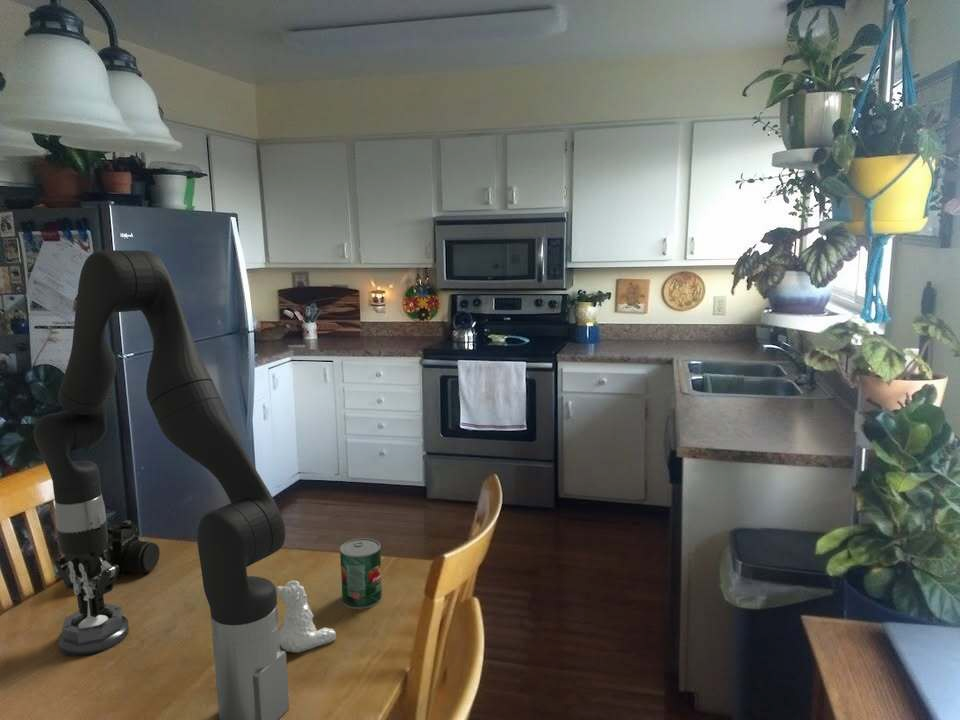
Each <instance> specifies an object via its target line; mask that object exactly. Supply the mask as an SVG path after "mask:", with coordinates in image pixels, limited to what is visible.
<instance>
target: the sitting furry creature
mask: <svg viewBox="0 0 960 720" xmlns="http://www.w3.org/2000/svg"><path fill="white" fill-rule="evenodd" d="M276 594H277V596H280V600H281V601H283V604H284V605H285V606H287V608H286V610H285V611H284V614H283V616H282V617H283V623H282V624H281V627H280V629H279V642H280V649H283V651H285V652H289V653H293V654H298V653H299V654H300V653H301V652H303V653H304V652H305V651H307V650H311V649H314V648H317V647H320V646H323V645H327V644H330V643H333V642H334V640H336V638H337V634H336V631H335V630H334V628H329V627H322V628H320V629H318V630H317V628H316V625H315V623H314V622H313V619H314V614H313V613H312V610H311V609H310V606H309V604H308V595H307V594H306V591H305V588H304V585H300V582H299V581H297V580H293V579H292V580H290V581H287V583H285V585H284V586H282V585H279V586H276Z"/></svg>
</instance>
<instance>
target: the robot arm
mask: <svg viewBox="0 0 960 720" xmlns="http://www.w3.org/2000/svg"><path fill="white" fill-rule="evenodd" d="M171 277H172V276H171V275H170V272H169V271H168V269H167V267H166V265H165V263H164V262H163V260H162V259H161V257H159V256H158V255H157V254H156V253H154V252H152V251H148V250H140V249H139V250H137V249H135V250H126V249H125V250H123V249H122V250H113V249H111V250H110V249H109V250H100V251H99V250H98V251H94V252H93V253H91V254H90V255H88V256H87V258H86V260H84V263H83V266H82V268H81V271H80V275H79V281H78V284H77V285H78V286H77V287H78V288H77V296H76V303H75V313H74V320H73V321H74V322H73V336H72V343H71V344H72V346H71V349H70V350H71V351H70V354H69V359H68V363H67V365H66V369H65V370H64V371H65V372H64V375H63V377H62V380H61V385H60V387H59V390H58V397H57V399H58V403H59V405H60V406H61V407H62V408H63V409H64V410H63V411H62V410H61V411H58V412H53V413H50V414H45V415H43V416H41V417H40V418H39V419H38V420H37V422H36V423H35V426H34V428H33V429H34V430H33V438H34V442H35V445H36V447H37V449H38V451H39V453H40V455H41V457H42V459H43V461H44V462H45V466H46V467H47V470H48V473H49V475H50V478H51V481H52V489H53V490H52V491H53V497H54V519H55V525H56V526H55V527H56V536H57V542H58V544H57V545H58V551H59V552H60V553H61V554H62V555H63V556H61V557H59V558H56V559H54V561H53V562H54V565H55V566H56V568H57V571H58V573H59V575H60V577H61V579H62V581H63V583H64V585H65V588H66V589H67V590H68V591H70V590H72V591H73V594H74V595H76V599H77V606H78V611H79V612H80V613H81V614H86V613H88V601H85V600H84V597H85V596H86V595H87V594H86V592H85V590H84V589H83V585H84V586H87V590H88V595H89V597H90V598H88V599H89V607H90V615H91V616H92V617H96V616H98V615H100V614H102V613H103V612H104V609H105V607H104V604H105V601H104V600H105V599H104V595H106V594H107V593H110V592H111V591H113V588H114V586H115V583H116V579H117V577H118V576H117V575H118V572H119V566H118V565H117V564H115V565H114V566H111V565H110V564H109V563H108V562H107V556H106V554H105V552H104V548H105V546H106V544H107V543H108V532H107V527H108V524H107V515H106V507H105V502H104V498H103V494H102V486H101V485H102V484H101V477H100V476H101V475H100V469H99V467H98V465H97V464H96V463H95V462H93V461H90V460H74V461H72V459H71V457H70V453H72V452H75V451H79V450H83V449H86V448H87V449H88V448H91V447H93V446H95V445H97V444H99V443H100V442H101V441H102V440H103V438H104V437H105V436H106V434H107V429H108V427H107V425H108V424H107V423H108V422H107V400H108V397H109V395H110V393H111V392H110V391H111V389H112V386H113V384H114V381H115V377H116V374H117V373H116V372H117V362H116V357H115V354H114V352H113V349H112V347H111V345H110V343H109V342H108V339H107V337H106V327H107V325H108V322H109V320H110V318H111V316H112V315H113V314H114V313H127V312H138V311H140V312H141V313H142V314H143V315H144V318H145V319H146V322H147V324H148V327H149V330H150V332H151V336H152V340H153V341H152V342H153V345H152V346H153V347H152V353H151V359H150V363H149V367H148V372H147V378H146V390H145V391H146V396H147V398H146V399H147V400H148V403H149V405H150V407H151V410H152V413H153V415H154V417H155V418H156V421H157V424H158V426H159V427H160V430H161V432H162V433H163V435H164V437H165V438H167V440H168V441H169V442H170V443H172V444H173V445H174V446H175V447H176V448H178V449H179V450H180V451H181V452H182V453H184V454H185V455H186V456H188V457H189V458H191V459H193V460H194V461H196V462H197V463H198V464H200V465H201V466H202V467H204V469H206V470H208V471H209V472H210V473H211V474H212V476H214V478H216V480H217V481H218V482H219V484H220V485H221V487H222V488H223V490H224V492H225V494H226V495H227V497H228V499H229V502H230V503H229V504H226V505H223V506H221V507H218V508H216V509H213V510H211V511H209V512H208V513H206V514H204V516H202V517H201V519H200V521H199V523H198V528H197V535H196V536H197V538H196V539H197V542H196V543H197V549H198V550H197V552H198V556H199V563H200V570H201V578H202V585H203V590H204V594H205V597H206V600H207V603H208V605H209V610H210V611H209V612H210V621H211V622H210V624H211V635H212V636H211V637H212V647H213V660H214V661H213V662H214V672H215V684H216V695H217V698H216V699H217V707H218V719H219V720H279V719H280V718H281V717H282V716H283V715H284V714H285V713H286V712H287V711H288V710H289V709H290V699H289V698H290V695H289V681H288V666H287V653H286V652H287V651H285V650H281V646H280V642H279V632H280V629H279V617H278V616H279V613H278V612H279V611H278V610H279V609H278V593H277V587H276V586H275V584H274V583H273V582H272V581H271V580H270V579H267V578H264V577H261V576H253V575H252V576H250V575H248V572H247V568H248V567H249V566H251V565H253V564H254V565H255V563H257V562H259V561H262V560H263V559H265V558H268V557H269V556H272V555H273V554H276V553H277V552H278V551H279V550H281V548H282V547H283V545H284V543H285V539H286V526H285V523H284V519H283V516H282V513H281V510H280V509H279V506H278V504H277V503H276V501H275V499H274V498H273V496H272V494H271V492H270V490H269V489H268V487H267V486H266V484H265V482H264V480H263V479H262V477H261V476H260V474H259V472H258V470H257V468H255V465H254V464H253V463H252V460H251V459H250V457H249V455H248V454H247V451H246V449H245V447H244V445H243V444H242V441H241V440H240V437H239V435H238V434H237V431H236V429H235V427H234V425H233V423H232V421H231V419H230V417H229V416H230V415H228V412H227V410H226V407H225V404H224V403H223V400H222V398H221V396H220V394H219V390H218V389H217V387H216V385H215V382H214V380H213V379H212V377H211V375H210V373H209V371H208V370H207V367H206V364H205V363H204V361H203V358H202V356H201V354H200V352H199V350H198V347H197V345H196V343H195V340H194V338H193V336H192V333H191V331H190V328H189V326H188V323H187V321H186V318H185V315H184V312H183V310H182V309H183V308H182V306H181V303H180V300H179V298H178V295H177V291H176V289H175V286H174V282H173V280H172V278H171ZM95 584H97V588H94V585H95Z"/></svg>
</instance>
